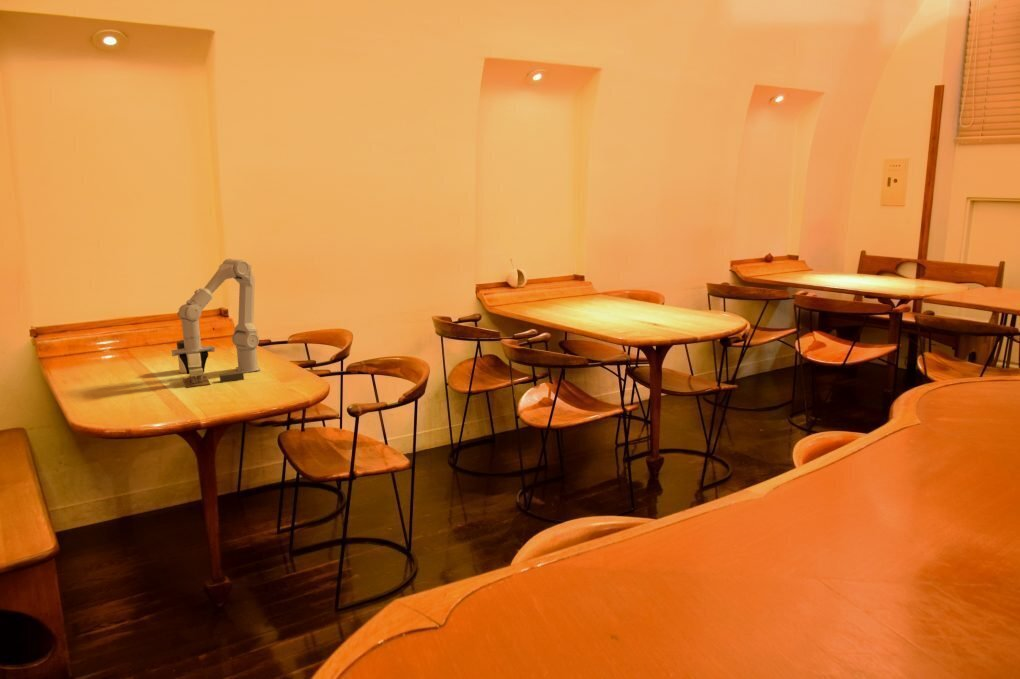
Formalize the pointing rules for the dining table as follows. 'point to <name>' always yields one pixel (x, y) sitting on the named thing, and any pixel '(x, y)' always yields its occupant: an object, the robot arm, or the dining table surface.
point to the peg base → (196, 381)
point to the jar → (192, 358)
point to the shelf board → (195, 370)
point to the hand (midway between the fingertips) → (195, 372)
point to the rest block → (231, 376)
